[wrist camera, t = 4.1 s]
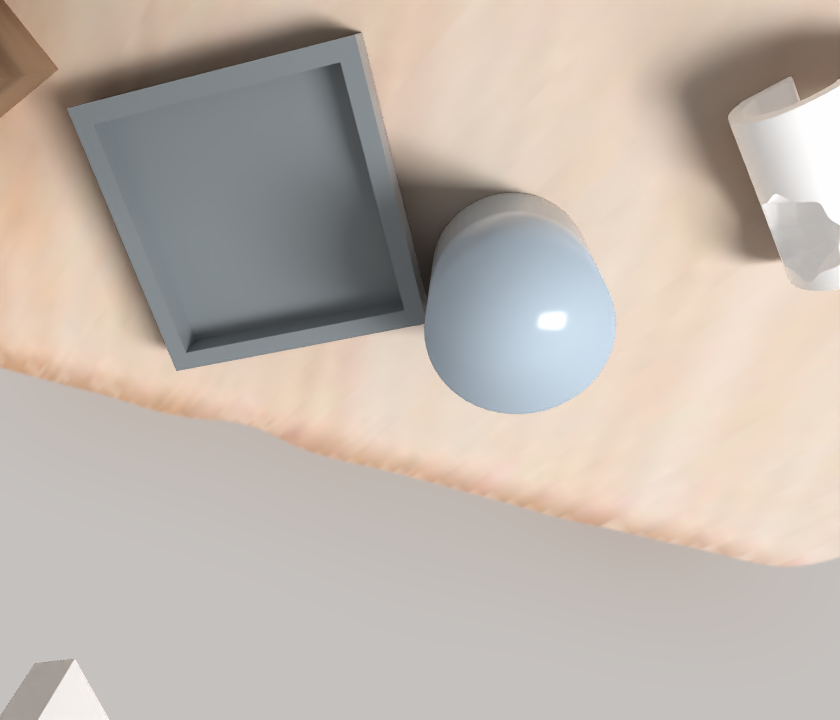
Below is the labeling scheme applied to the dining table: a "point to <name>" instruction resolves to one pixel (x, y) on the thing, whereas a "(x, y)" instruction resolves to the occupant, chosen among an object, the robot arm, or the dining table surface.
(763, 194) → the plastic part
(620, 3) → the dining table surface
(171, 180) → the tray
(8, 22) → the walnut block
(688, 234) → the dining table surface
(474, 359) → the light blue cylinder
